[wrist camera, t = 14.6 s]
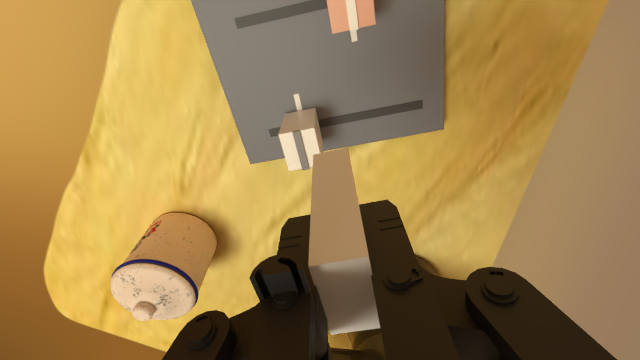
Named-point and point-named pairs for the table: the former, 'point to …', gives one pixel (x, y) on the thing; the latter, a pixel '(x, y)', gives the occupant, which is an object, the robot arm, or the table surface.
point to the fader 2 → (350, 14)
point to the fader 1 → (300, 138)
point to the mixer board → (327, 69)
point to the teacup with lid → (165, 268)
